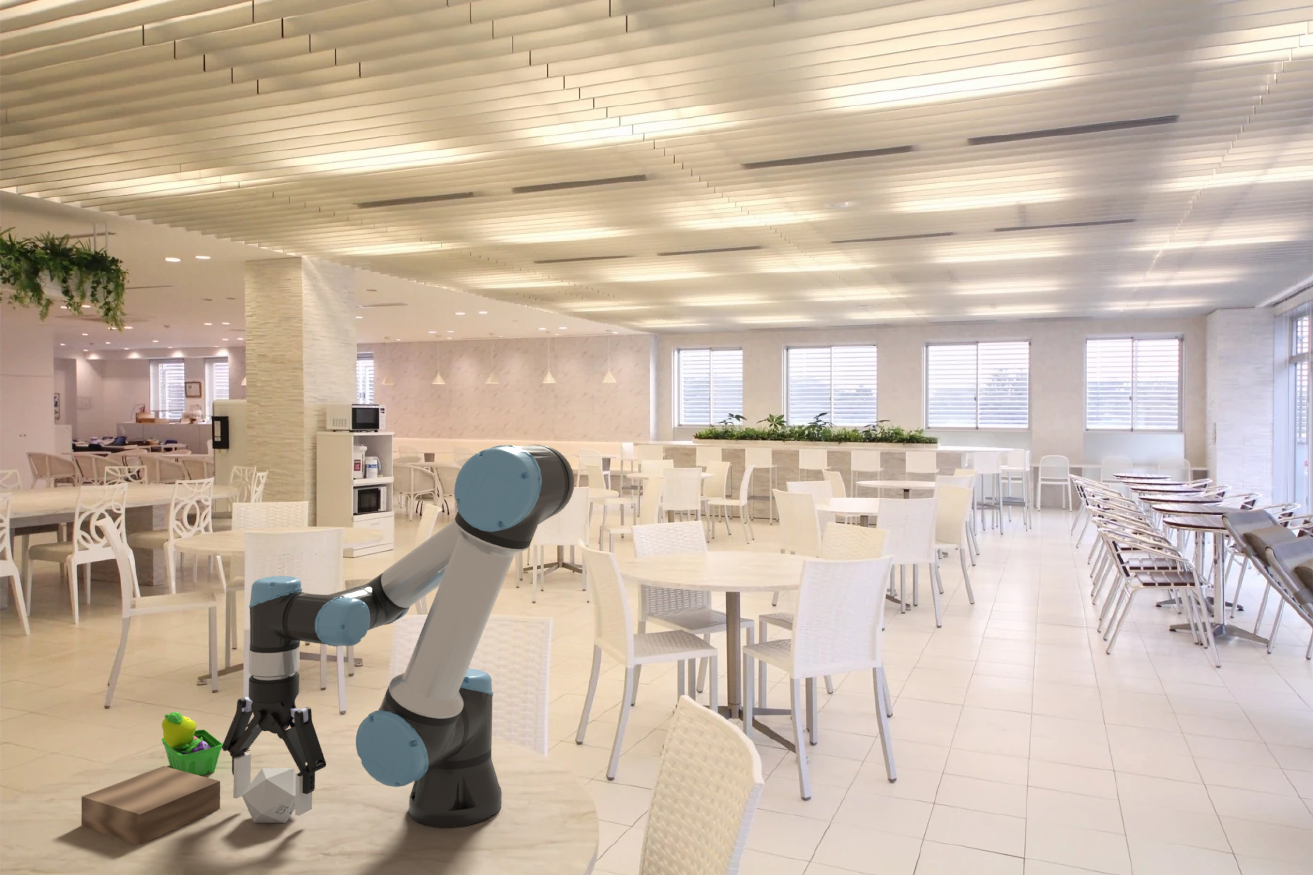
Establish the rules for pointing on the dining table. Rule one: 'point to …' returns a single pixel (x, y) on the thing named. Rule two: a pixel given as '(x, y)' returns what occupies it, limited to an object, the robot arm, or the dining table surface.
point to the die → (271, 795)
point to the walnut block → (150, 804)
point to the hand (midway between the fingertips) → (272, 803)
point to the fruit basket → (189, 745)
